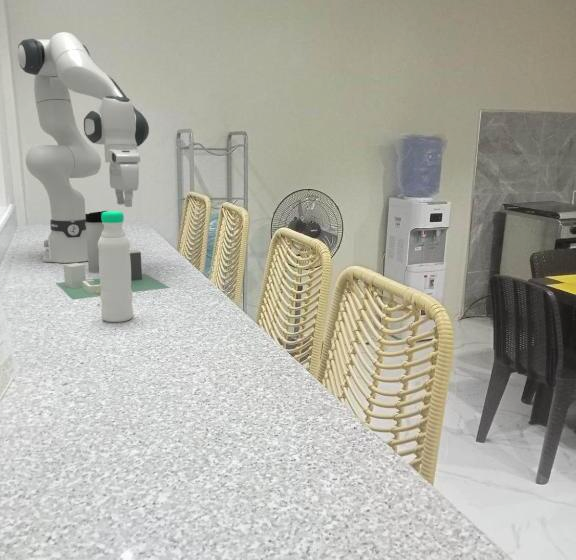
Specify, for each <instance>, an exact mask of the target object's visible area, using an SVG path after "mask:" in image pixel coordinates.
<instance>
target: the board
mask: <svg viewBox="0 0 576 560" xmlns="http://www.w3.org/2000/svg"><path fill="white" fill-rule="evenodd" d="M55 284H56V286H58V287H59V288H60V289H61V290H62V291H63V292H64V293H65V294H66V295H67V296H68V297H70V298H71V300H81V299H88V298H96V297H101V285H100V278H93V279H86V281H82V287H78V288H70V287H67V286H65V281H64V282H63V281H62V282H56V283H55ZM168 288H169V289H170V288H171V287H170V286H168V285H166V284H165V283H163V282H161V281H159V280H157V279H156V278H154V277H152V276H150V275H149V274H147V273H142V280H133V281H131V290H132V293H137V292H145V291H152V290H153V291H154V290H161V289H168Z"/></svg>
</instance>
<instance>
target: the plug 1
mask: <svg viewBox="0 0 576 560" xmlns="http://www.w3.org/2000/svg"><path fill="white" fill-rule="evenodd" d="M85 266H86V265H85V264H83V263H80V262H72V263H64V264H63V272H64V282H65V286H67V287H70V288H78V287H82V281H86V280H87V279H86V267H85Z"/></svg>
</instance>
